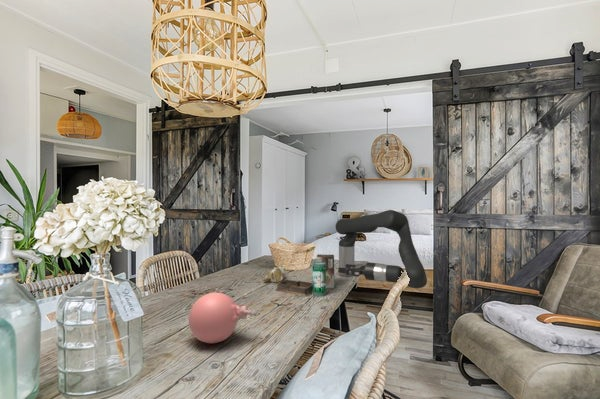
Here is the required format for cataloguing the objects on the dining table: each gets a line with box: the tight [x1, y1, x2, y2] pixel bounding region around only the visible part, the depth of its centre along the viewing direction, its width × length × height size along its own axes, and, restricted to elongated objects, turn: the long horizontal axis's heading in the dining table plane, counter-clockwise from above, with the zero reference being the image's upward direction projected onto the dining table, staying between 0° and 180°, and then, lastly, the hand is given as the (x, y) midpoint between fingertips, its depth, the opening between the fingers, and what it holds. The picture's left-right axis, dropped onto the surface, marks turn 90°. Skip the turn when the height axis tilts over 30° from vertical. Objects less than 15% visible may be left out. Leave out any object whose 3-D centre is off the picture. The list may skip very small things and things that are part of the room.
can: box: [311, 261, 327, 297], centre depth 156 cm, size 6×6×15 cm
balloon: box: [188, 292, 253, 344], centre depth 105 cm, size 15×20×15 cm
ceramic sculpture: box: [262, 265, 286, 283], centre depth 178 cm, size 11×9×15 cm
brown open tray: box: [275, 279, 312, 297], centre depth 162 cm, size 11×17×3 cm, turn 60°
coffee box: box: [316, 254, 335, 289], centre depth 169 cm, size 9×6×16 cm
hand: (342, 268), depth 149 cm, fingers open, 8 cm apart
